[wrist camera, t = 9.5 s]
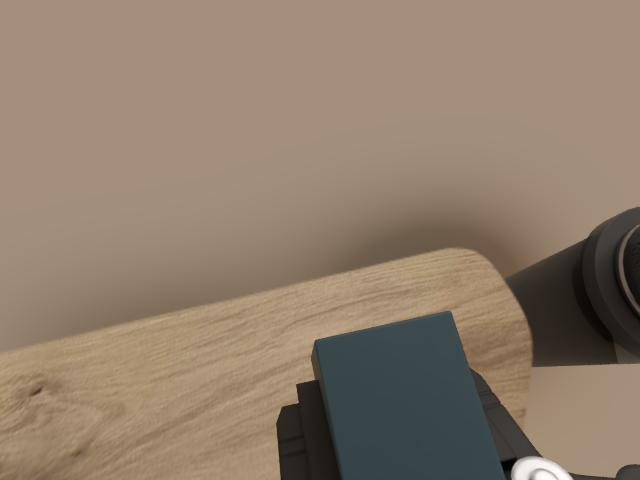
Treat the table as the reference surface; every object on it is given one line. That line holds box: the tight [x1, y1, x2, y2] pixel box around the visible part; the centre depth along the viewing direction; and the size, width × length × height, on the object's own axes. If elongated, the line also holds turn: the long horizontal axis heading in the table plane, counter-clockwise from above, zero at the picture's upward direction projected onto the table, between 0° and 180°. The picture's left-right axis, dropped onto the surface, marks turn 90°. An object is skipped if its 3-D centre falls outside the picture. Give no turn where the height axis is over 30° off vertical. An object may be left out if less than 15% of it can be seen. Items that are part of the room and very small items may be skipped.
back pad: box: [311, 311, 506, 480], centre depth 11 cm, size 3×7×8 cm, turn 12°
